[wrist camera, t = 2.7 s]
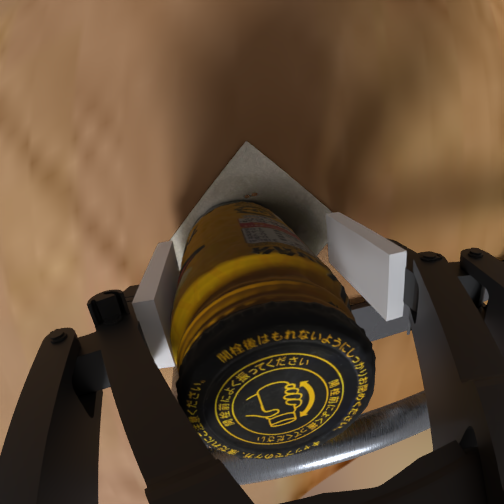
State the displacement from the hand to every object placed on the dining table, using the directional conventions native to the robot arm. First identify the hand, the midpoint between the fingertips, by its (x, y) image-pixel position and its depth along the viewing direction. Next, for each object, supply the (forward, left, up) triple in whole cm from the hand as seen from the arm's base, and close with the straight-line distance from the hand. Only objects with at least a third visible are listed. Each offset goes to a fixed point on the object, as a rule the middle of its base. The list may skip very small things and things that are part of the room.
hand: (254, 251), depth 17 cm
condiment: (0, 0, -2) cm, 2 cm away
